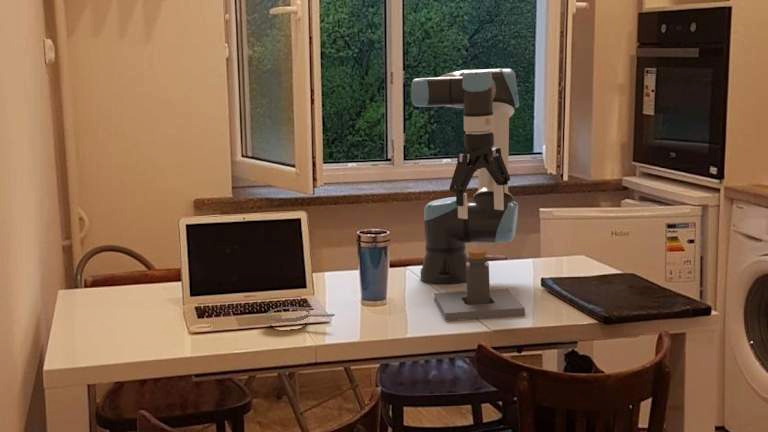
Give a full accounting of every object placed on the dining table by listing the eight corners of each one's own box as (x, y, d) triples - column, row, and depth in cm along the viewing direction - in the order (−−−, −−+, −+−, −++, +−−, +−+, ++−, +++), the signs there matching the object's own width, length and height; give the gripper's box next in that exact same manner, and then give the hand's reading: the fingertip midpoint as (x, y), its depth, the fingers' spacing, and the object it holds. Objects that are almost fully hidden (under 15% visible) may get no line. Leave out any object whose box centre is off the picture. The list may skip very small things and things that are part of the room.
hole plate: (445, 321, 246) (445, 313, 246) (434, 300, 266) (434, 293, 266) (524, 315, 248) (524, 307, 248) (508, 295, 268) (507, 288, 267)
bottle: (488, 310, 254) (487, 253, 251) (465, 310, 255) (464, 253, 252) (491, 304, 259) (489, 248, 257) (468, 304, 260) (467, 248, 258)
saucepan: (279, 318, 256) (278, 304, 255) (343, 323, 249) (343, 308, 248) (259, 330, 246) (258, 315, 245) (325, 335, 239) (325, 320, 238)
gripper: (454, 138, 242) (457, 223, 246) (522, 127, 258) (524, 207, 262) (433, 136, 247) (436, 220, 252) (500, 125, 263) (502, 204, 268)
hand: (481, 213), depth 257 cm, fingers open, 13 cm apart
